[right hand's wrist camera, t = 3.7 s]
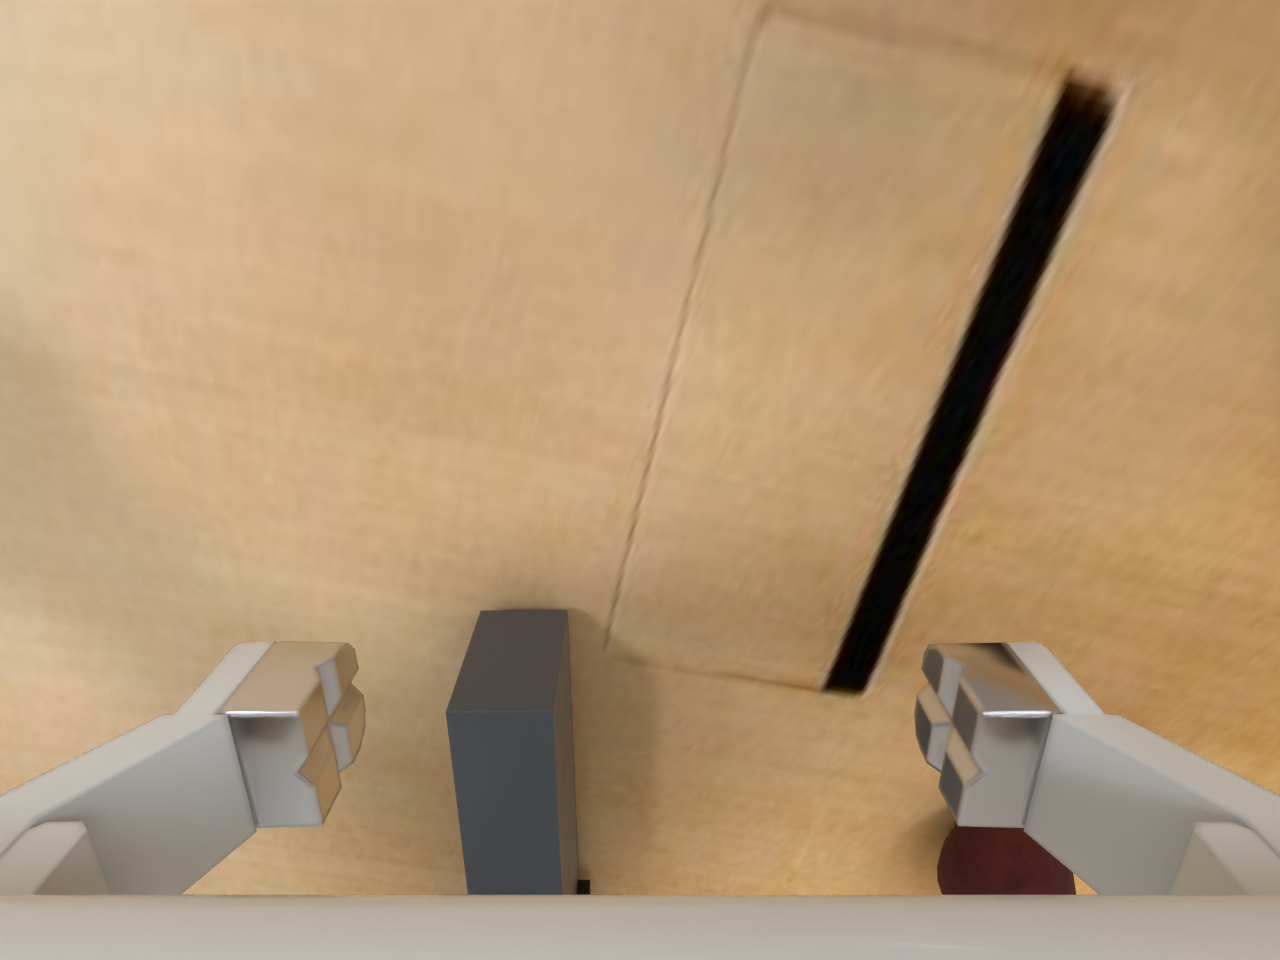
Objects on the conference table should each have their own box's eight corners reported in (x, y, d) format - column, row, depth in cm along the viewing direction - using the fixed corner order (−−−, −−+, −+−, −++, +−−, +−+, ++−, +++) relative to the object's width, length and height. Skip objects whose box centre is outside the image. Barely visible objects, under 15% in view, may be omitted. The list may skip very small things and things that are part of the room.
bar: (480, 610, 40) (445, 711, 32) (567, 609, 40) (552, 711, 32) (511, 935, 49) (489, 1072, 42) (581, 935, 49) (572, 1071, 42)
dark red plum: (928, 886, 48) (974, 996, 42) (911, 797, 46) (956, 901, 39) (1044, 862, 48) (1108, 971, 41) (1033, 771, 45) (1100, 872, 38)
